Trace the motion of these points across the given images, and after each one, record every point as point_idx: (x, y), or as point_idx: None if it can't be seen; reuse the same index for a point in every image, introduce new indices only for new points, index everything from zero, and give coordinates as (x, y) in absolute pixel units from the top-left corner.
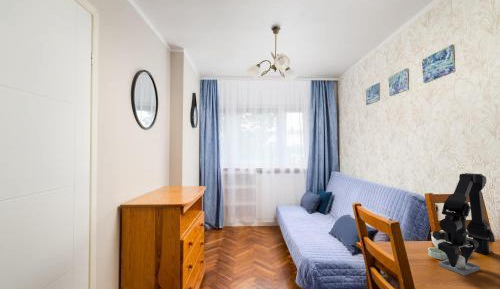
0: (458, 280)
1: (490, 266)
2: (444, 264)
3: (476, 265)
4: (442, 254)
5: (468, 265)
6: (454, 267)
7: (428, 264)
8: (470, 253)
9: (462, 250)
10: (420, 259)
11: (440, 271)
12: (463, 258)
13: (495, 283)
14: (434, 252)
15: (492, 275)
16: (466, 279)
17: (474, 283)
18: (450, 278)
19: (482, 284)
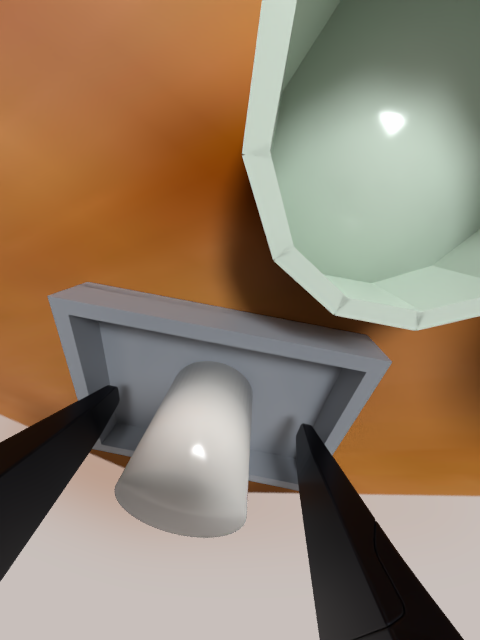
0: (39, 408)
1: (438, 482)
2: (68, 347)
3: None
4: (290, 273)
5: (313, 426)
6: (176, 375)
7: (24, 191)
8: (321, 637)
9: (371, 632)
10: (35, 5)
11: (24, 319)
12: (178, 530)
13: None
14: (252, 118)
15: None
16: None
17: (94, 450)
18: (11, 381)
19: (122, 467)
